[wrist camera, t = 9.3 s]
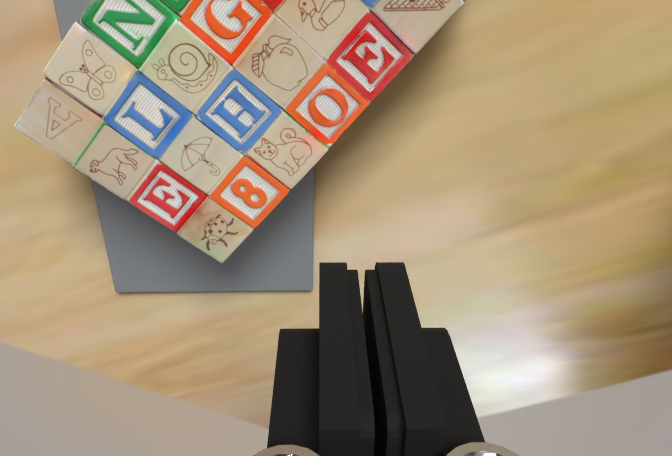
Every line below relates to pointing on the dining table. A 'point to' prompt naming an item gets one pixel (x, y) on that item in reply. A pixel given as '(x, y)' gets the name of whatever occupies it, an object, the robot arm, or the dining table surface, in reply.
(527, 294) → the dining table surface
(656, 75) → the dining table surface
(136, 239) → the mat
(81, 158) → the stack of blocks
